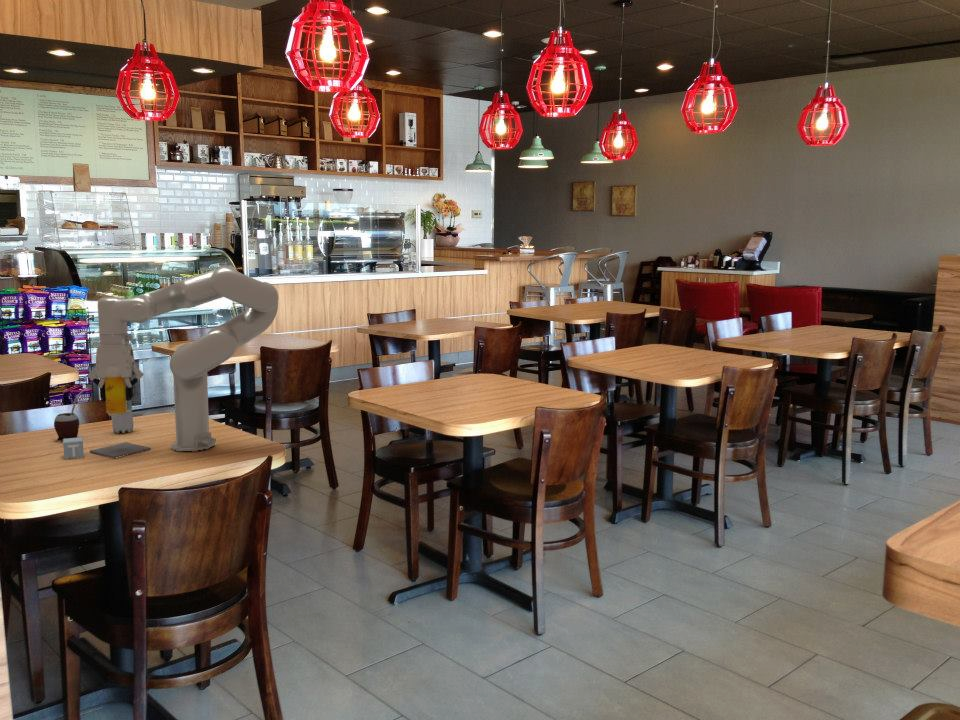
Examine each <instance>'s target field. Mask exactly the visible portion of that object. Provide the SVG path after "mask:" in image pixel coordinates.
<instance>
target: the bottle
mask: <svg viewBox="0 0 960 720" xmlns="http://www.w3.org/2000/svg"><path fill="white" fill-rule="evenodd" d="M128 403H129V411H128V413H127V414H126V415H122V416H111V417H112V419H111V420H112V423H111V425H112V426H111V427H112V431H113V432H114V433H116V434H118V433H119V434H123V433H124V434H125V433H127V434H128V433H130V432H133V430H134V416H133V405H132V399H131V400H130V401H128ZM120 432H121V433H120Z"/></svg>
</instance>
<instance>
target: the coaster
mask: <svg viewBox="0 0 960 720" xmlns="http://www.w3.org/2000/svg"><path fill="white" fill-rule="evenodd" d="M150 449H151V450H152V447H150V446H146V445H140V444H136V443H132V442H127V441H126V442H125V441H124V442H121V443H116V444H113V445H109V446H104V447H100V448H95V449H90V450H89V453H90V452H91V454H94V453H95V454H94V455H98V454H99V456H102V455H104V456H103V457H106V456H109V457H108V458H110V457H113V458H112V459H114V458H115V459H117V458H116V457H119V456H123V455H127V454H131V455H133V454H132V453H135V454H137V453H136V452H139V453H142V452H141V451H143V452H147V451H150ZM146 450H147V451H146ZM127 456H128V455H127ZM123 457H124V456H123ZM119 458H120V457H119Z"/></svg>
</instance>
